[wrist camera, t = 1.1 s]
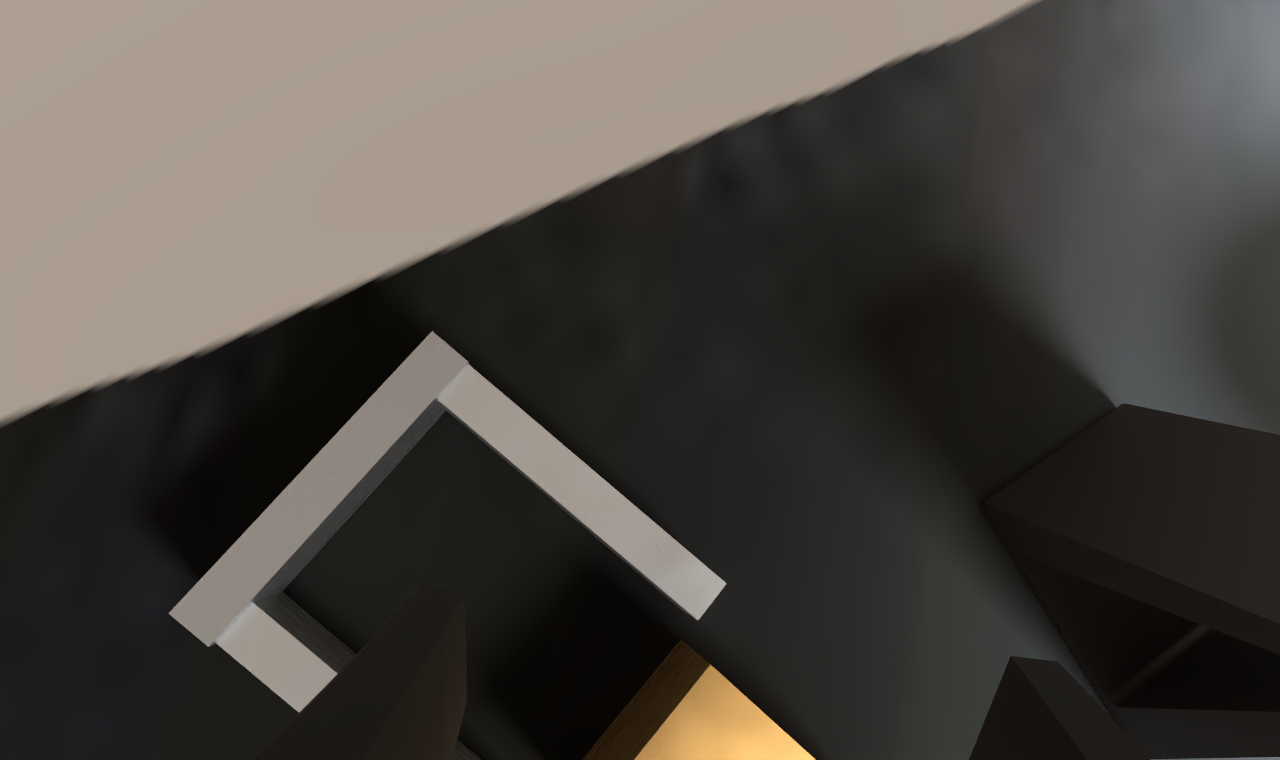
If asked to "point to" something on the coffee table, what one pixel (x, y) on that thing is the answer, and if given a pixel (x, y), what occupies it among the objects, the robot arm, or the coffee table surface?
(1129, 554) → the dark tent-shaped stand
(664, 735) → the block
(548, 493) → the coupler channel
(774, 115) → the coffee table surface
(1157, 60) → the coffee table surface
